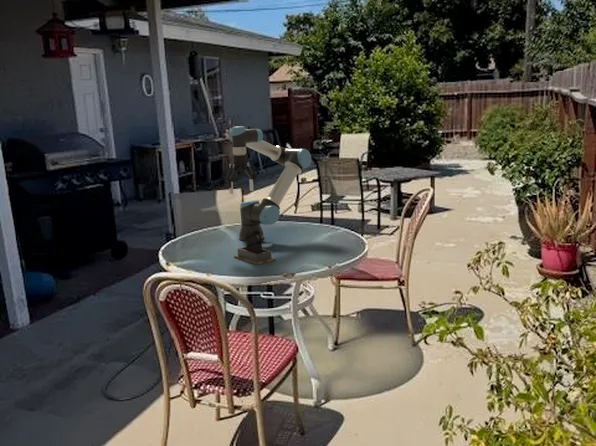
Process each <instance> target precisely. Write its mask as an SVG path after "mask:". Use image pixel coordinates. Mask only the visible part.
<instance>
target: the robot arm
mask: <svg viewBox="0 0 596 446" xmlns="http://www.w3.org/2000/svg"><path fill="white" fill-rule="evenodd" d="M228 139H229V141H230V142H231V143H232V144H231V145H232V154H233V155H232V157H233V158H232V160H233V164H231V163H229V164H228V169H227V171H226V175H225V176H224V181H225V182H227V187H228V188H227V189H228V190H229V195H234V182H233V180H234V179H235V176H236V175H237V173H238V172H239V173H240V172H245V174H246V175H247V176H248V178H249V180H248V181H249V182H248V183H249V191H250V192H254V191H255V190H254V185H255V180H256V179H257V178H258V176H257V173H256V172H255V170H254V168H253V164H252V163H253V162H251V161H248V160H247V158H248V157H247V148H249V149H252V150H253V151H255V152H258V153H259V154H262V155H264V156H266V157H268V158H270V160H271V161H272V162H273V161H274V162H275V163H278V164H279V165H282V166H284V169H283V171H282V172H281V174H280V176H279V177H278V178H277V180H276V182H275V183H274V185H273V187H272V188H271V191H270V192H269V193H268V195H267V196H266V197H264V198H263V199H262V200H261V202H260V200H258V199H257V200H256V199H255V200H254V199H253V200H247V201H242V202H241V203H240V205H239V207H240V208H239V211H240V225H241V227H240V231H239V234H238V239H239V240H240V241H244V242H247V241H246V240H245V236H246V235H247V234H249V233H250V232H252V231H254V230H259V232H260V238H261V240H263V239H264V235H265V234H264V231H263V229H262V226H261V225H263V226H264V225H265V226H272V225H274V224H276V223H277V222H278V221H279V219H280V214H281V211H280V209H281V206H280V205H281V203H282V201H283V199H284V198H285V196H286V194H287V192H288V191H289V189H290V188H291V186H292V184H293V183H294V181H295V179H296V178H297V176H298V175H301V173H302V172H303V170H304V169H308V168H309V167H310V166H311V164H312V155H311V153H310V151H309V150H308V149H306V148H292V147H290V148H289V147H283V146H282V147H281V146H280V145H276V146H275V145H273V144H271V143H269V142H268V141H265V140H263V139H264V132H263V131H262V130H261V129H260V128H249V129H248V128H246V127H245V126H243V125H241V126H238V125H237V126H232V128H231V129H230V131H229V132H228ZM247 161H248V162H247ZM247 167H248V168H247Z"/></svg>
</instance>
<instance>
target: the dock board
mask: <svg viewBox="0 0 596 446" xmlns="http://www.w3.org/2000/svg"><path fill="white" fill-rule="evenodd" d="M233 256H234V258H235V259H238V260H241V261H244V262H246V263H250V264H253V265H254V266H255V265H256V266H259V265H263V264H267V263H271V262H274V261H275V262H276V260H277V259H276V258H274V257H272V256H271V259H268V260H264V261H260V262H256V261H253V260H250V259H247V258H244V257H241V256H238V254H235V255H233Z"/></svg>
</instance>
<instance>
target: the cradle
mask: <svg viewBox="0 0 596 446" xmlns="http://www.w3.org/2000/svg"><path fill="white" fill-rule="evenodd" d="M262 250H263V253H258V254H257V253H253V252H250V251H248V247H246V246H242V247H238V248H237V255H238V256H241V257H244V258H247V259H250V260H253V261H256V262H260V261H264V260H268V259H271V257H272V251H271V250H268V249H266V248H262Z"/></svg>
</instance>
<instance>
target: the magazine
mask: <svg viewBox="0 0 596 446" xmlns="http://www.w3.org/2000/svg"><path fill="white" fill-rule="evenodd" d="M245 240H246V241H245V242H246V245H245V247H248V251H250V252H253V253H257V254H258V253H263V250H262V249H263V240H262V239H261V238H260V232H259V230H254V231H252V232H250V233H249V234H247V235H246V236H245Z"/></svg>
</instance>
